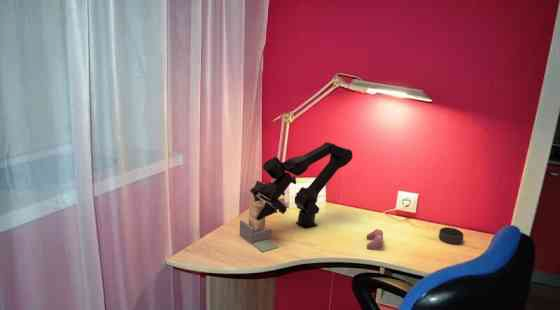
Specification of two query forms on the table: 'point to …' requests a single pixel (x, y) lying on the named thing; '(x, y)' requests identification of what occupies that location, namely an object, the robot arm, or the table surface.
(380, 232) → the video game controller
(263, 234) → the tray
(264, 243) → the mat
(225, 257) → the table surface
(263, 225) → the birch block
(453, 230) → the smart speaker
